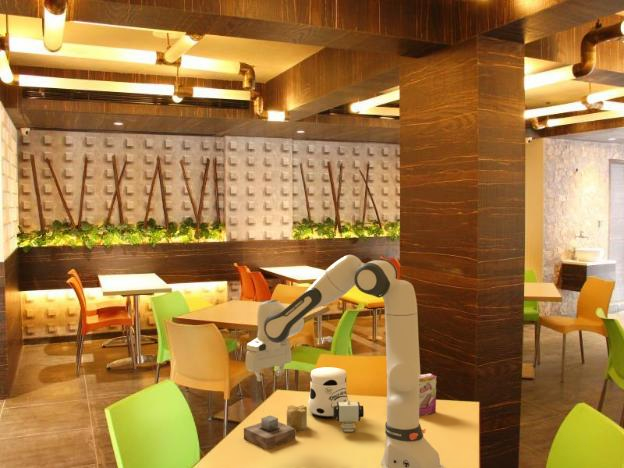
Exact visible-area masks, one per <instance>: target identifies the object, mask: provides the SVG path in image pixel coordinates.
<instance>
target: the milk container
mask: <svg viewBox="0 0 624 468" xmlns="http://www.w3.org/2000/svg"><path fill="white" fill-rule="evenodd" d="M309 383H310V384H309V385H310V392H309V396H308V403H307V404H308V410H309V411H310V413H311V414H312V415H315V416H316V417H320V418H335V417H334V416H333V406H336V404H337V402H347V401H350V400H349V397H348V392H347V383H348V382H347V371H346V370H344V369H342V368H339V367H338V368H337V367H329V366H327V367H318V368H314V369H312V370H311V371H310V382H309Z"/></svg>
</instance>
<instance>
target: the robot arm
mask: <svg viewBox="0 0 624 468" xmlns="http://www.w3.org/2000/svg"><path fill="white" fill-rule="evenodd" d="M398 273H399V272H398V269H397V266H396V265H395V264H394V263H393V262H391V261H389V260H387V259H375V260H374V259H373V260H371V261H367V262H365V263H364V262H362V260H361V259H360V258H359V257H357V256H356V255H354V254H347V255H344V256H343V257H340V258H339V259H337V260H336V261H334V262H333V263H332V264H331V265H330V266H329V267H327V268H326V269H325V270H324V271H323V272H322V273H321V274H320V275H318V277H316V280H314V281H313V283H312V284H311V285H310V286H309V287H308V288H307V289H306V290H304V292H303V293H302V294H301V295H300V296H299V297H298V298H296V299H295V300H294V301H293V302H292V303H291V304H289V305H288V306H285V305H284V304H282V302H280V301H279V300H277V299H270V300H269V299H268V300H264V301H262V302H260V303H259V305H258V308H257V314H256V315H257V316H256V318H257V321H256V323H257V328H258V329H257V334H256V335H257V337H255V338H254V339H252V340H251V341H250V342H248V343H247V344H246V350H247V351H246V353H245V369H246V371H248V372H253V373H254V374H255V376H256V381H257V382H262V381H263V380H264V379H263V377H264V376H263V375H261V370H265V369H269V368H273V367H276V366H277V367H278V368H277V370H276V371H275V376H276V377H282V375H283V374H282V373H283V370H284V368H285V364H289V363H291V362H292V359H293V358H292V349H291V342H290V340H289V338H291V337H293V336H296V335H298V334H300V333H301V332H302V331H303V330H304V328H305V318H304V317H305V316H306V315H307V314H309V313H310V312H312V311H313V310H316V309H318V308H320V307H322V306H326V305H329V304H331V303H333V302H336V301H337V300H339V299H341V298H342V297H343V296H345V295H346V294H347V293H348V292H350V290H351V289H353V288H354V287H356V288H357V290H359V291H360V292H361V293H363V294H366V295H370V296H372V297H375V298H379V299H380V298H382V299H383V302H384V325H385V352H386V354H385V355H386V356H385V358H386V378H387V379H386V421H385V424H384V425H385V428H384V429H385V431H384V433H385V446H384V452H383V455H382V456H383V457H382V459H381V465H382V467H383V468H447V467H446V466H444V465H443V464H441V461H440V460H441V459H440V455H439V452H438V451H437V450H436V449H435V448H434V446H432V445H431V444H430V442H429V441H428V440H427V439H426V438H425V437H424V433H426V430H427V429H426V428H424V429H422V427H421V423H420V416H419V379H420V375H421V363H420V361H421V360H420V359H421V358H420V343H419V342H420V341H419V322H418V321H419V319H418V318H419V317H418V303H417V302H418V301H417V297H416V292H415V288H414V286H413V283H411V282H409V281H407V280H406V279H398V275H399V274H398Z"/></svg>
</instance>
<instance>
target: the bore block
mask: <svg viewBox="0 0 624 468" xmlns="http://www.w3.org/2000/svg"><path fill="white" fill-rule="evenodd" d="M243 439H244V440H247V441H249V442H251V443H253V444H254V445H257V446H259V447H261V448H264V449H265V450H269V449H271V448H275V447H276V446H280V445H283V444H285V443H288V442H291V441H295V440H296V430H295V428H292V427H290V426H288V425H287V424H285V423H282V422H280V421H278V430H275V431H272V432H269V433H268V432H266V431H263V430H261V422H259V423H256V424H252V425H250V426H247V427H244V428H243Z"/></svg>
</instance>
